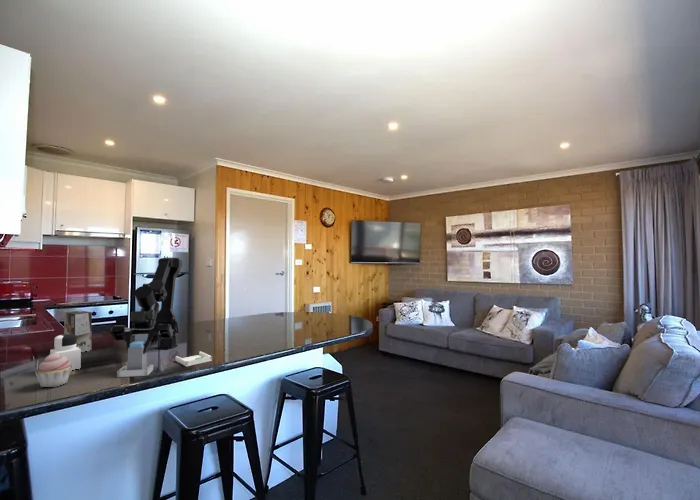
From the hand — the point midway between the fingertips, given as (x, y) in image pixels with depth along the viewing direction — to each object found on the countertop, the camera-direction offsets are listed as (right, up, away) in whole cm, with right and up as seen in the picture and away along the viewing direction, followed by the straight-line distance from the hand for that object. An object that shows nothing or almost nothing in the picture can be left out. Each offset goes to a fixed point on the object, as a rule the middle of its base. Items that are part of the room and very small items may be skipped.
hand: (135, 353), depth 121 cm
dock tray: (+13, -7, +15) cm, 21 cm away
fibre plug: (0, -7, +1) cm, 7 cm away
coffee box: (-40, -7, +27) cm, 49 cm away
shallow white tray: (0, -7, 0) cm, 7 cm away
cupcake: (-19, -7, -11) cm, 23 cm away
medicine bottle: (-26, -7, +4) cm, 28 cm away
